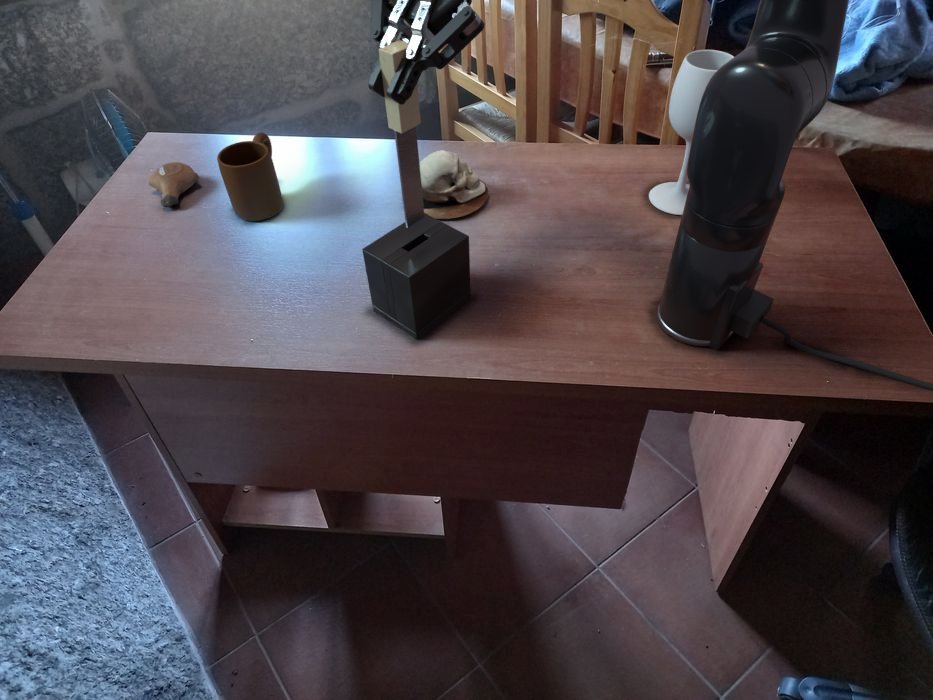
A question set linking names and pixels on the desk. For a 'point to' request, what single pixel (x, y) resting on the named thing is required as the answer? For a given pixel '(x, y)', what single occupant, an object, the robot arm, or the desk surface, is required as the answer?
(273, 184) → the mug
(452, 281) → the knife block
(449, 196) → the skull
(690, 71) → the wineglass
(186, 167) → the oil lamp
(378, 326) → the desk surface
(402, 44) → the knife
